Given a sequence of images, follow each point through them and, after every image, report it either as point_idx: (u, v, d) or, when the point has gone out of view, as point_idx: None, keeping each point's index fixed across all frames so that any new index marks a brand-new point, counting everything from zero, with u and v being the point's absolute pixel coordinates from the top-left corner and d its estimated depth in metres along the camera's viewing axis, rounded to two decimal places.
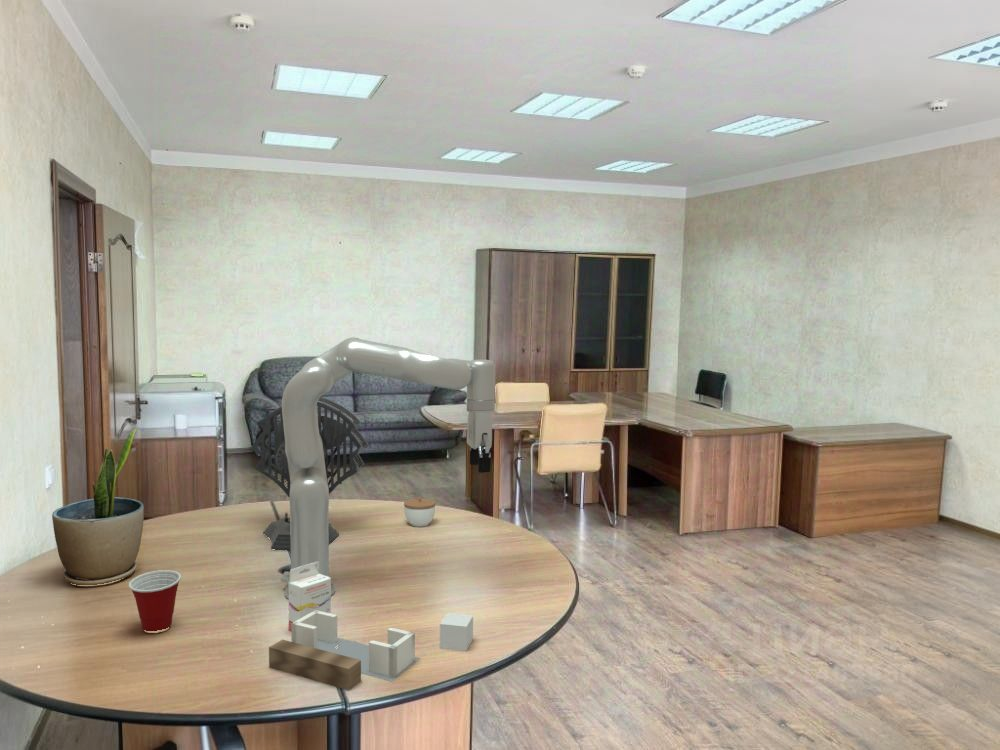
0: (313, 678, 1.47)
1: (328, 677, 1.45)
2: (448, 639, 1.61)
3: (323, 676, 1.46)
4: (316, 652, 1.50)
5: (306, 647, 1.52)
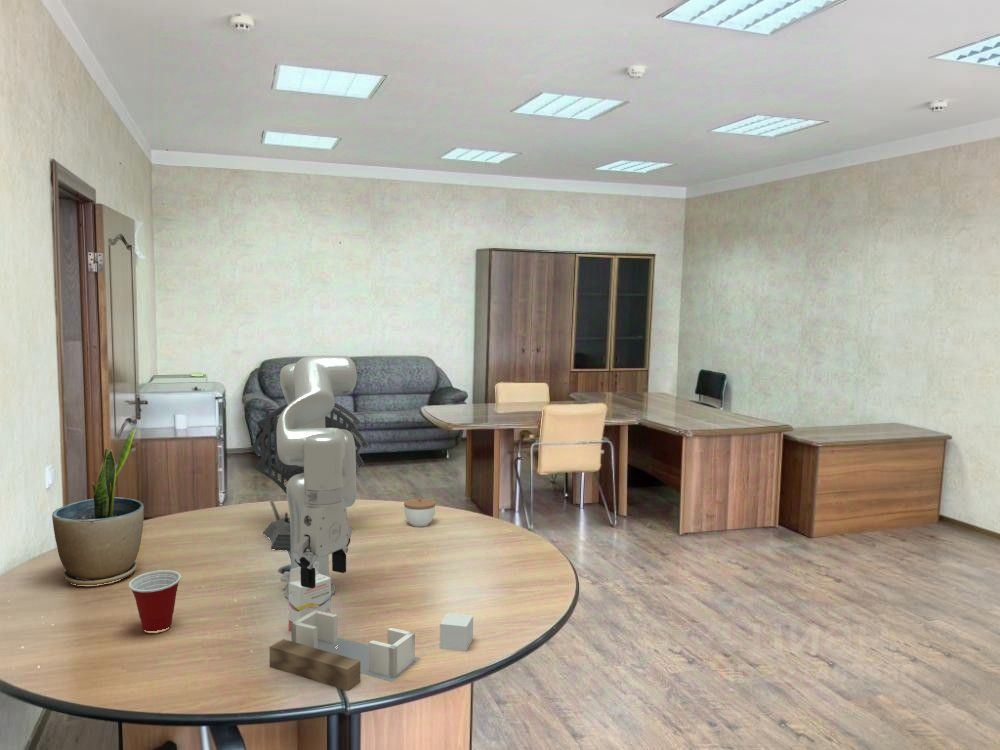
0: (312, 678, 1.47)
1: (328, 677, 1.45)
2: (448, 639, 1.61)
3: (322, 676, 1.46)
4: (316, 652, 1.50)
5: (306, 647, 1.52)
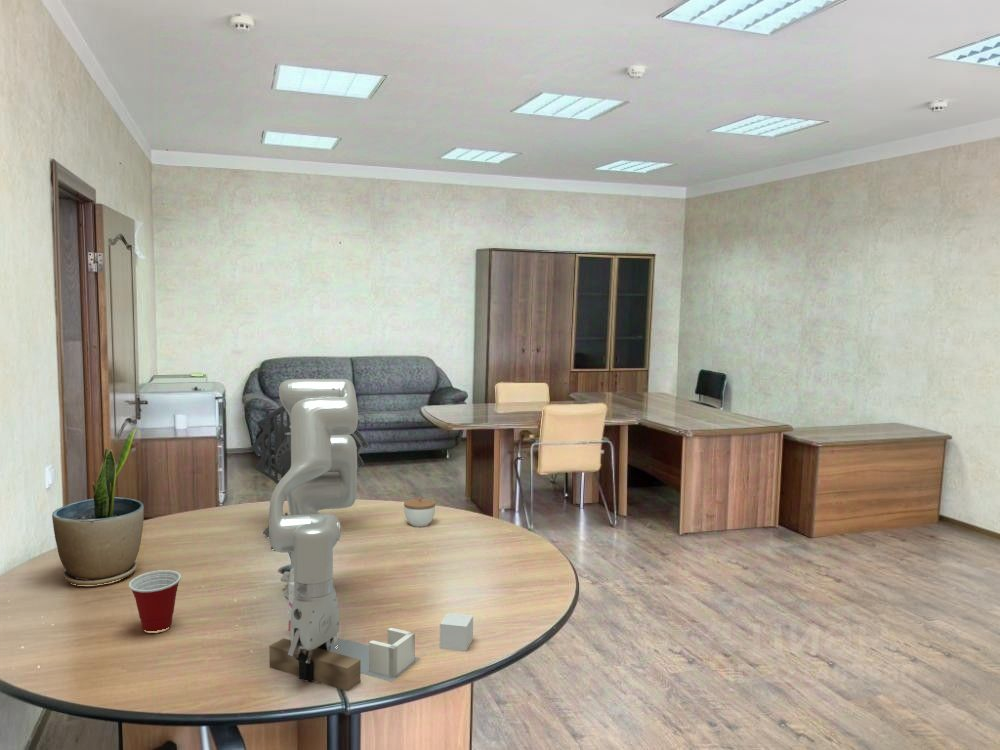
0: None
1: (328, 676, 1.45)
2: (448, 639, 1.61)
3: (322, 675, 1.46)
4: (316, 651, 1.49)
5: None
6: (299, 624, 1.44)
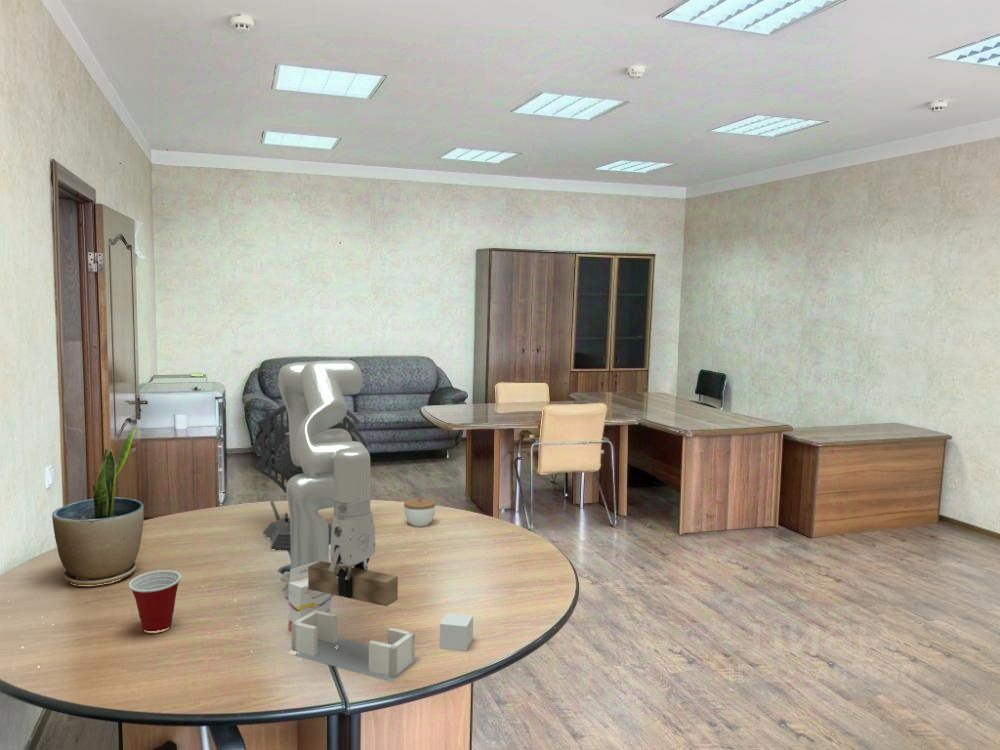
0: None
1: (367, 592, 1.52)
2: (448, 639, 1.61)
3: (361, 591, 1.53)
4: (354, 570, 1.57)
5: None
6: (339, 541, 1.51)
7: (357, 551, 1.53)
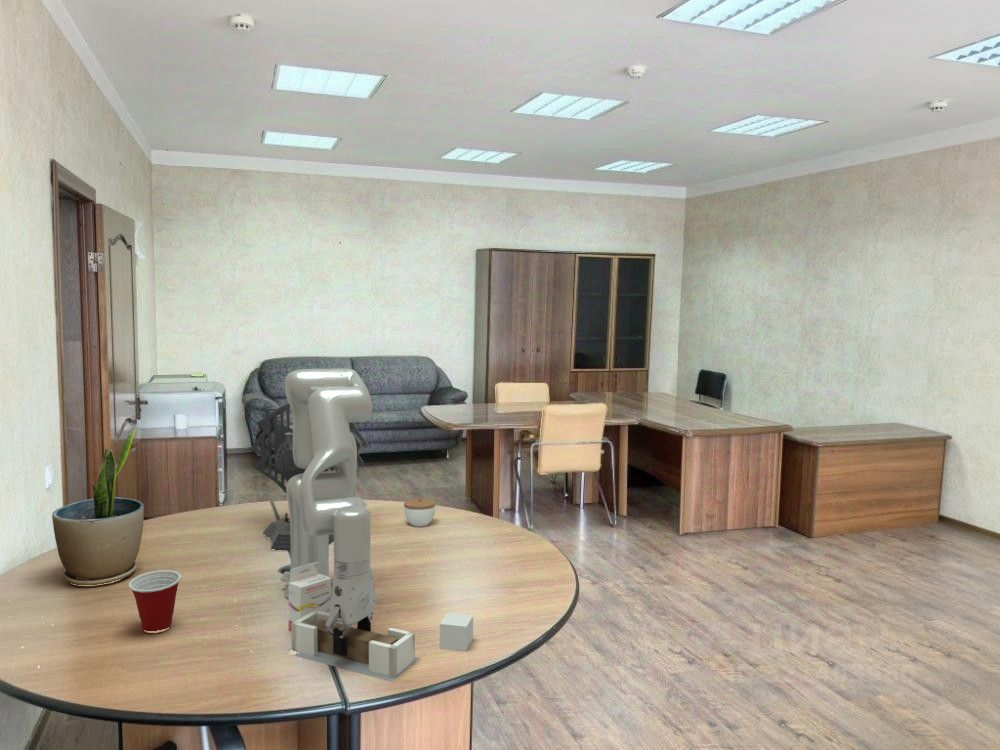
0: (352, 656, 1.55)
1: (367, 654, 1.54)
2: (448, 639, 1.61)
3: (361, 653, 1.54)
4: (354, 631, 1.58)
5: None
6: (340, 601, 1.52)
7: (357, 610, 1.54)
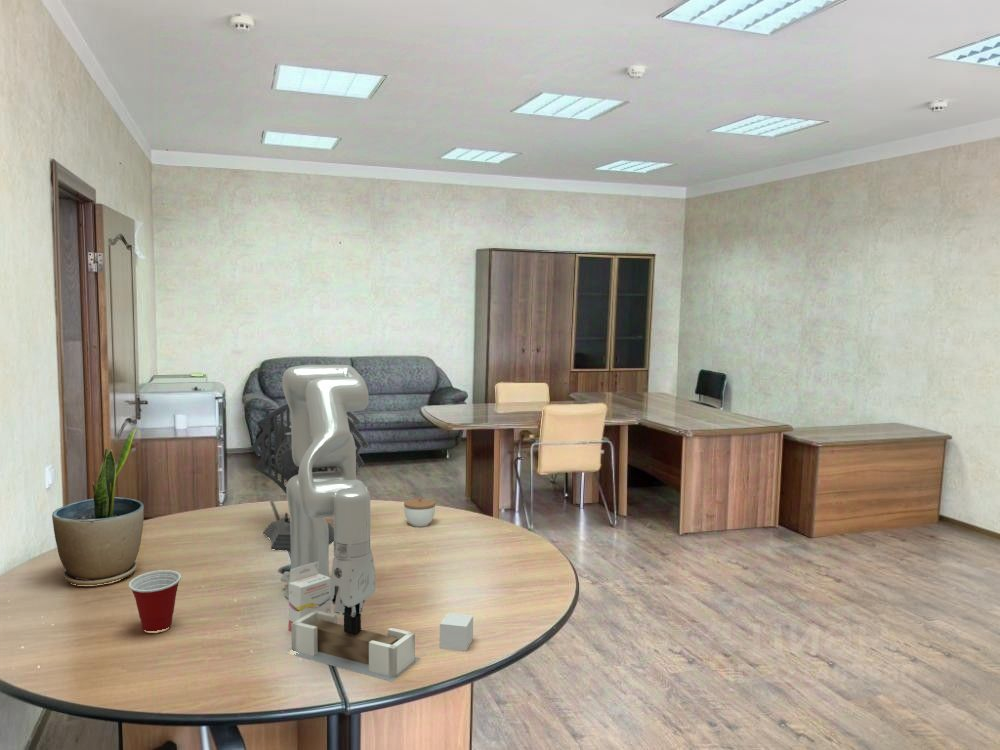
0: (352, 656, 1.55)
1: (367, 654, 1.54)
2: (448, 639, 1.61)
3: (361, 653, 1.54)
4: None
5: None
6: (339, 582, 1.51)
7: (357, 591, 1.53)
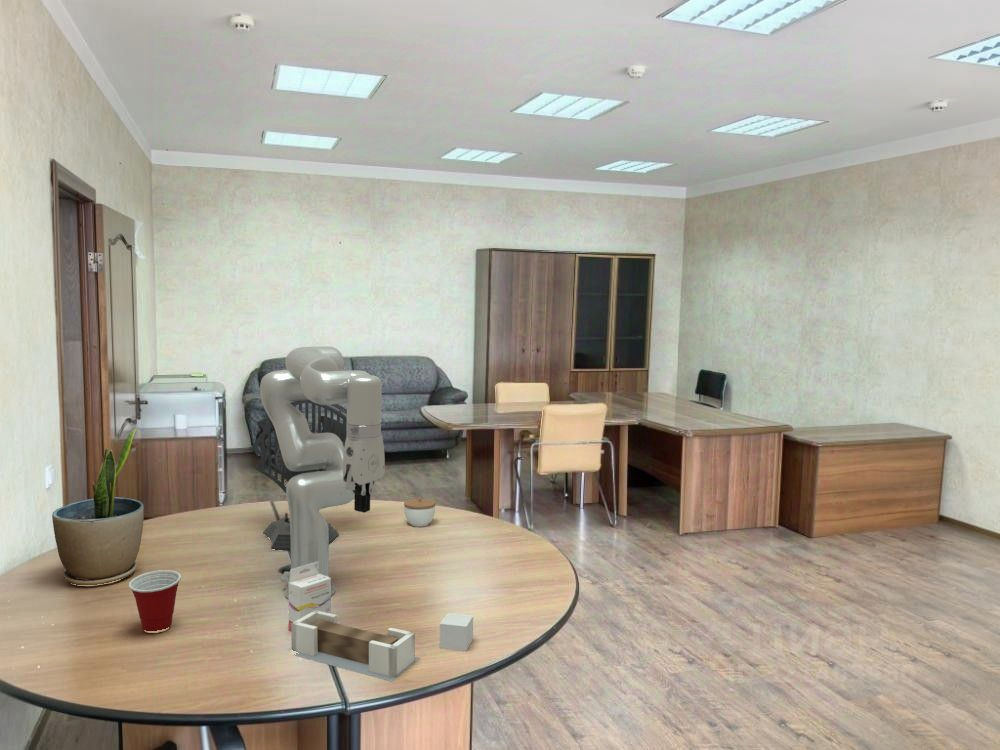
0: (352, 656, 1.55)
1: (367, 654, 1.54)
2: (448, 639, 1.61)
3: (361, 653, 1.54)
4: (354, 631, 1.58)
5: (344, 627, 1.60)
6: (351, 460, 1.61)
7: (367, 471, 1.63)
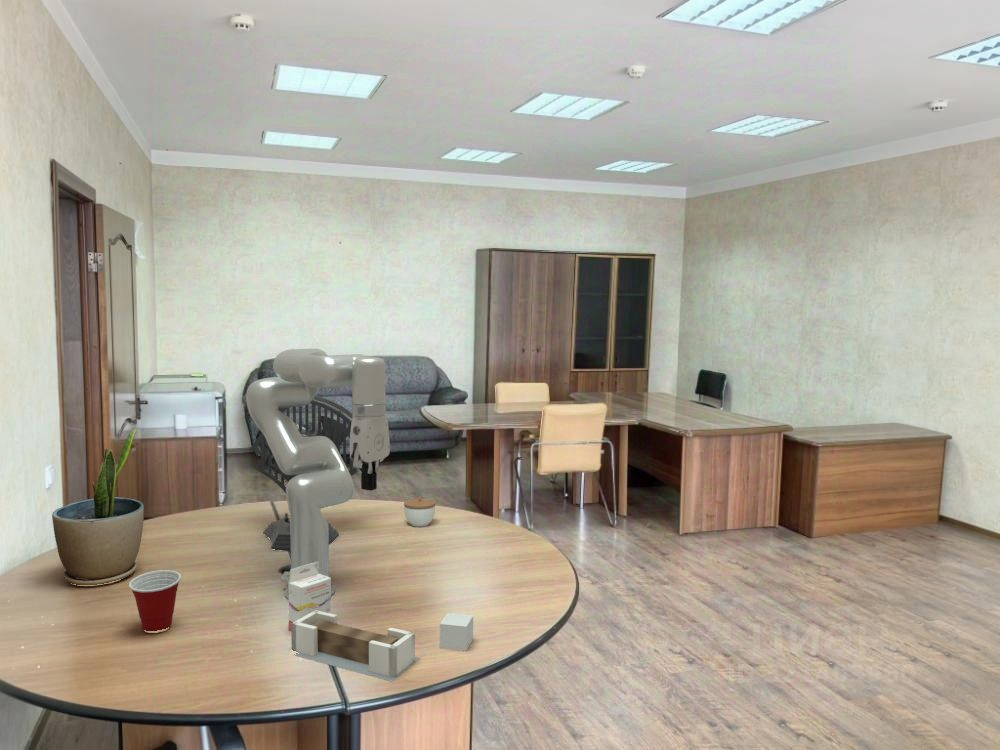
0: (352, 656, 1.55)
1: (367, 654, 1.54)
2: (448, 639, 1.61)
3: (361, 653, 1.54)
4: (354, 631, 1.58)
5: (344, 627, 1.60)
6: (358, 439, 1.66)
7: (373, 449, 1.68)
